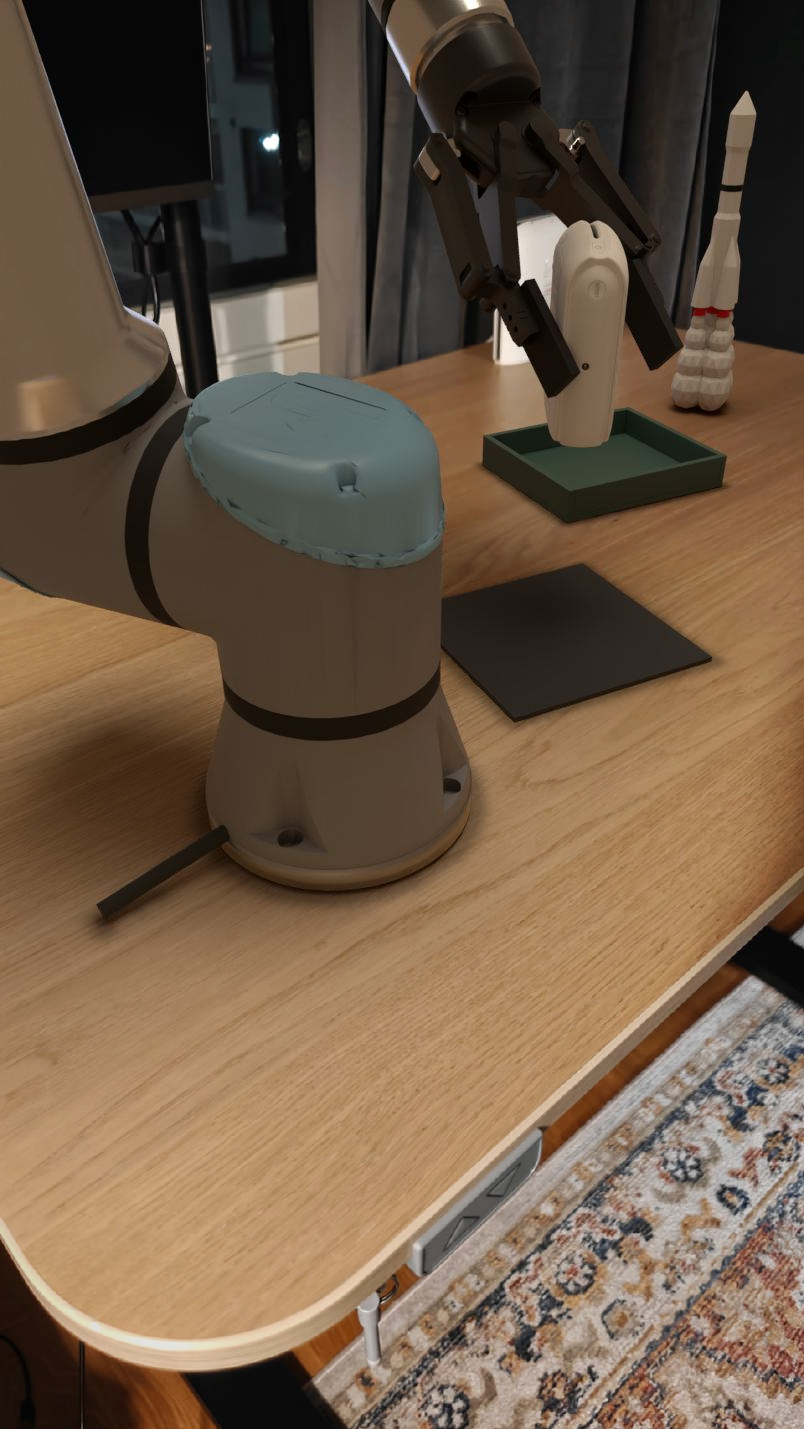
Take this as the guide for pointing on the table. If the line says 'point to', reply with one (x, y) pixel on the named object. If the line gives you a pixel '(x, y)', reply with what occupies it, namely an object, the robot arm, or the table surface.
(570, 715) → the table surface
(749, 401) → the table surface
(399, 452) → the robot arm
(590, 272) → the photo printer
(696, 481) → the tray
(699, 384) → the rocket model
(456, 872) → the table surface
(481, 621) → the mat
